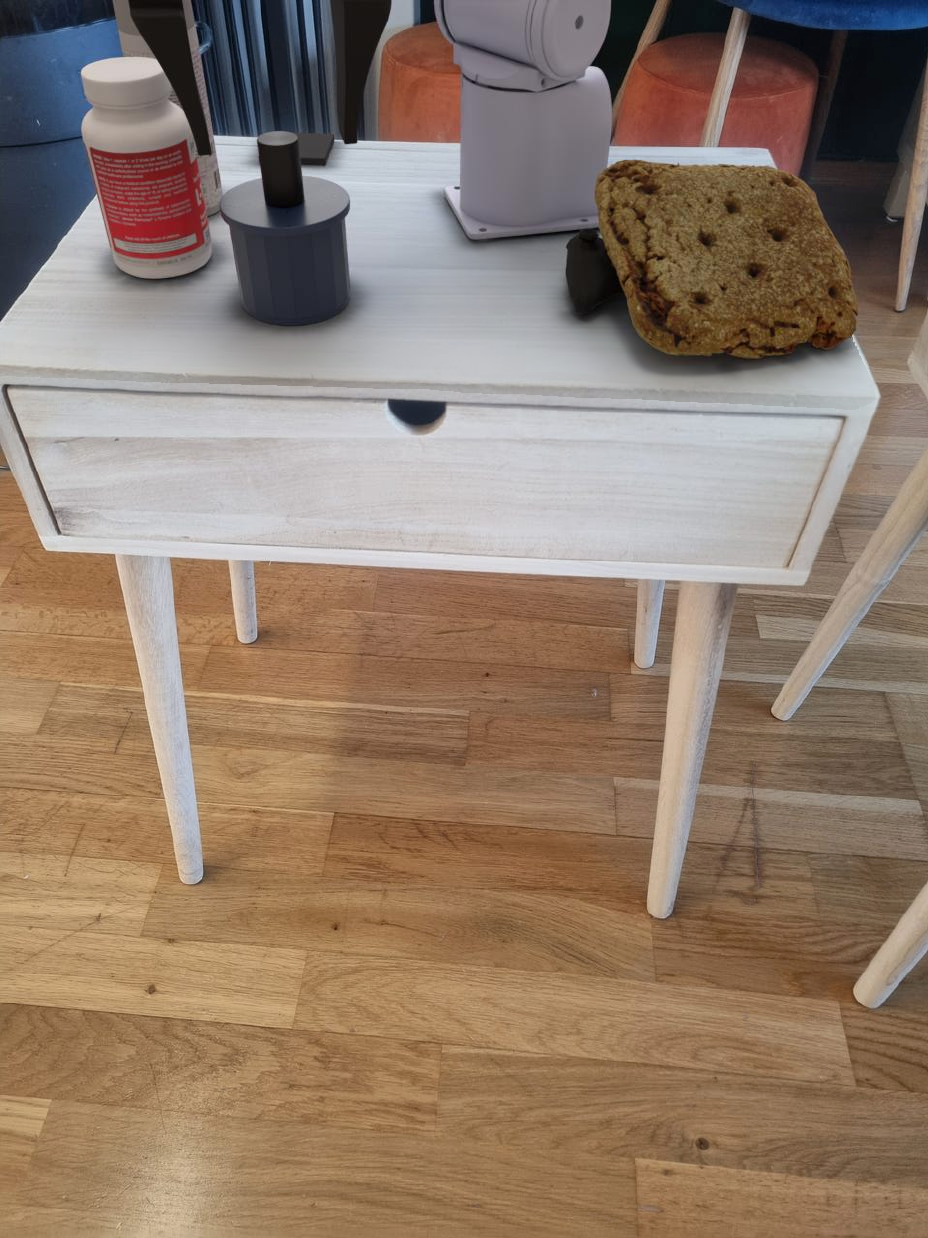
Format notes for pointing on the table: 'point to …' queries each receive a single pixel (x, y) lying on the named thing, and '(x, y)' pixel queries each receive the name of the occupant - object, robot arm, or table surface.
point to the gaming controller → (590, 272)
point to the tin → (293, 275)
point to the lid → (283, 194)
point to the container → (138, 48)
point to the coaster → (314, 147)
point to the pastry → (724, 259)
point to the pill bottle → (144, 169)
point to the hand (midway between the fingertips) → (277, 142)
